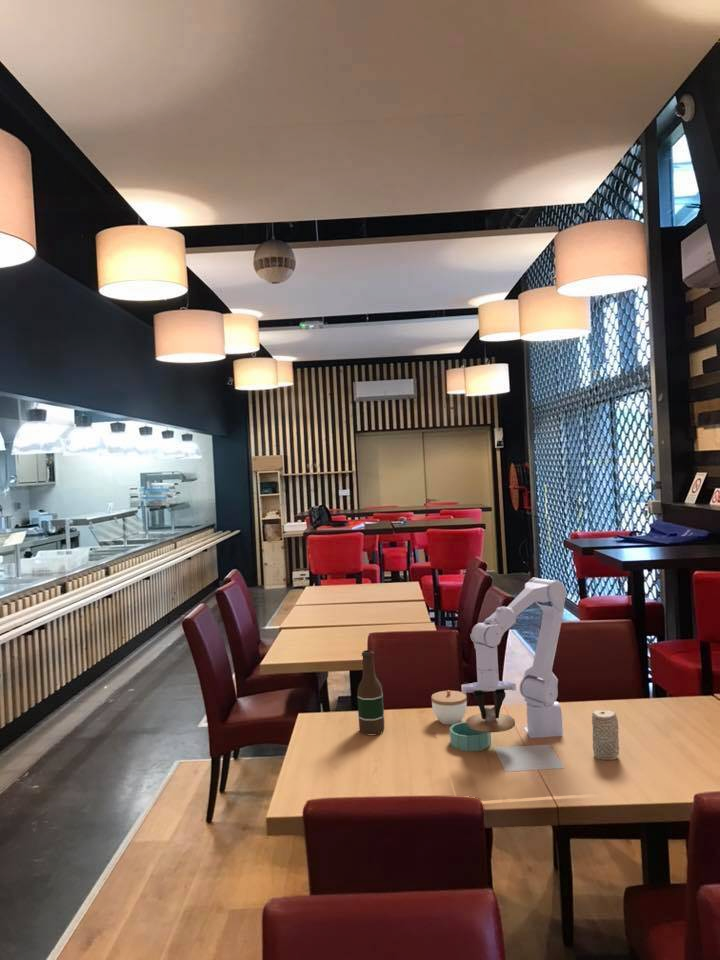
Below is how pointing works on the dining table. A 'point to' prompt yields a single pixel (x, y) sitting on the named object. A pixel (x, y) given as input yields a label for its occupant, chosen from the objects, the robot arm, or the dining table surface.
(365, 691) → the beer bottle
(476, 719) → the lid
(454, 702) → the lidded jar
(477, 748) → the bowl
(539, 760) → the mat
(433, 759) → the dining table surface
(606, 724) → the carving
